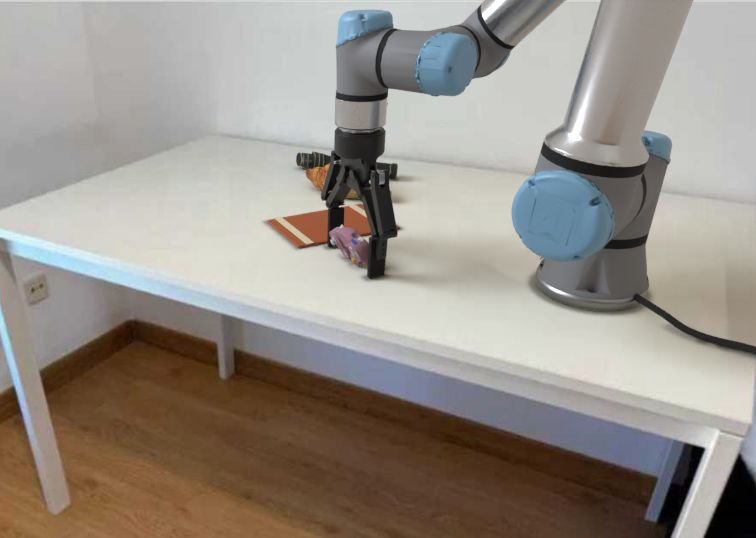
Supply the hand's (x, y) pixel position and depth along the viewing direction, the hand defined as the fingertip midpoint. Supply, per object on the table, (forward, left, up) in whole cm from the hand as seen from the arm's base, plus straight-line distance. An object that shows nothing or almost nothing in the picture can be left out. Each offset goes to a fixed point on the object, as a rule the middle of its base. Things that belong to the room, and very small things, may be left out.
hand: (354, 260), depth 112 cm
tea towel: (+16, -4, 0) cm, 16 cm away
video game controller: (0, 0, 0) cm, 0 cm away
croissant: (+31, -15, 0) cm, 34 cm away
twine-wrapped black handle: (+43, -21, 0) cm, 48 cm away
